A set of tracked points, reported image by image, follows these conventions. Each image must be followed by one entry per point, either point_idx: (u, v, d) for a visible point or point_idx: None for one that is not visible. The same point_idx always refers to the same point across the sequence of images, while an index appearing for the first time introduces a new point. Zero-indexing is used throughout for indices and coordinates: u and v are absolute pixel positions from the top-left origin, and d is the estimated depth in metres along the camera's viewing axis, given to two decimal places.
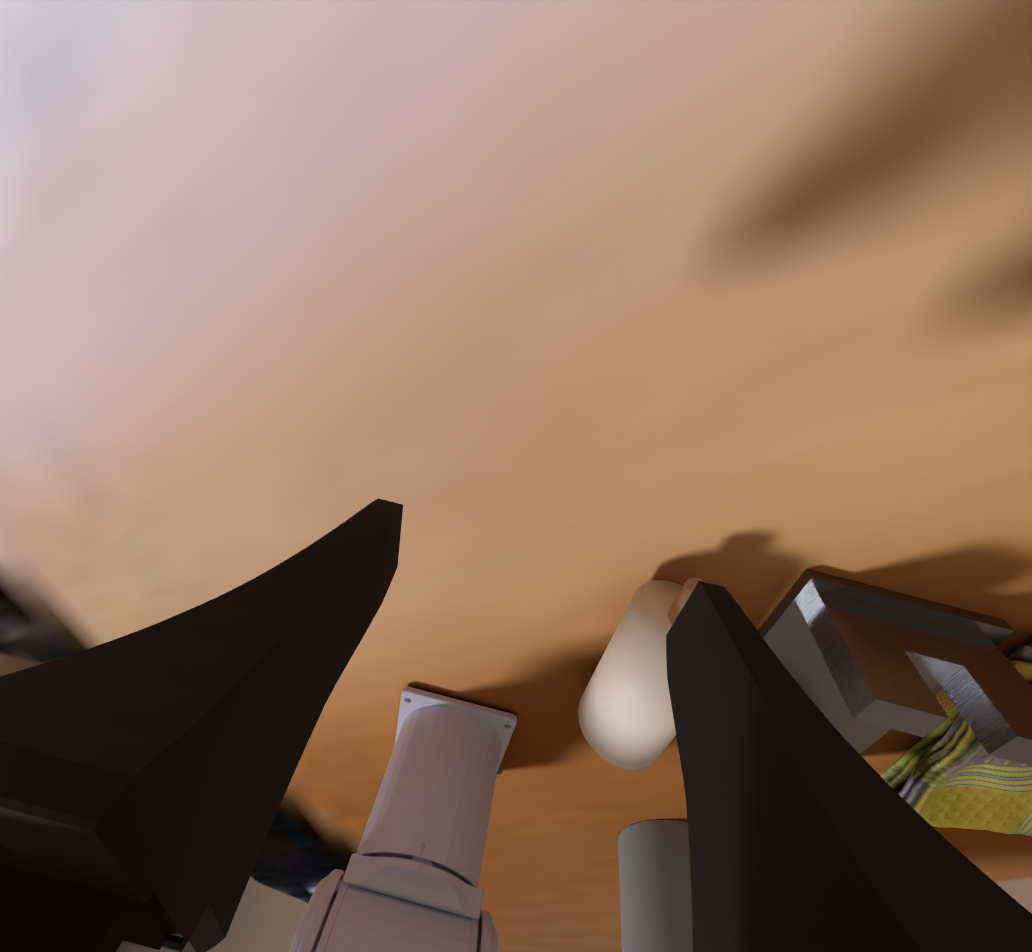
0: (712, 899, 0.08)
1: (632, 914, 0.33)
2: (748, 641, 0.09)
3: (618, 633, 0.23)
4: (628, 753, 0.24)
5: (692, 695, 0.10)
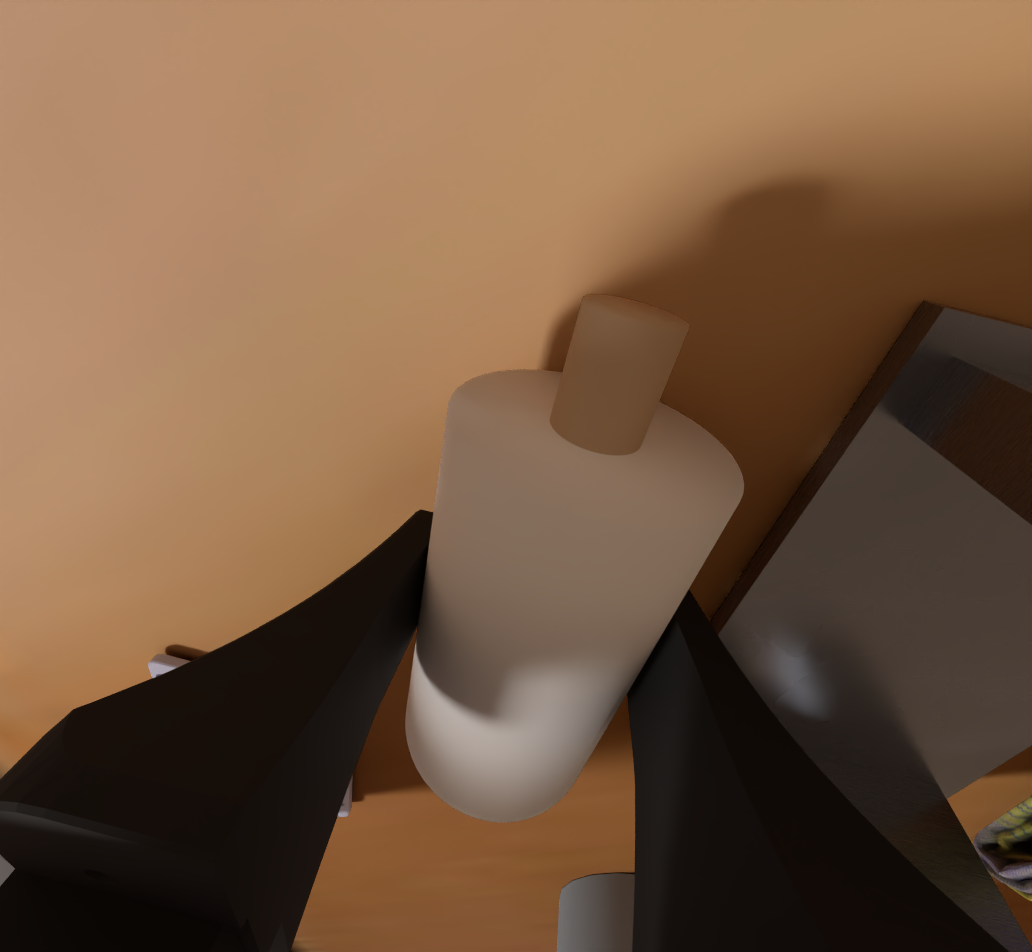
0: (650, 882, 0.08)
1: None
2: (695, 627, 0.09)
3: None
4: (479, 785, 0.10)
5: (644, 682, 0.10)
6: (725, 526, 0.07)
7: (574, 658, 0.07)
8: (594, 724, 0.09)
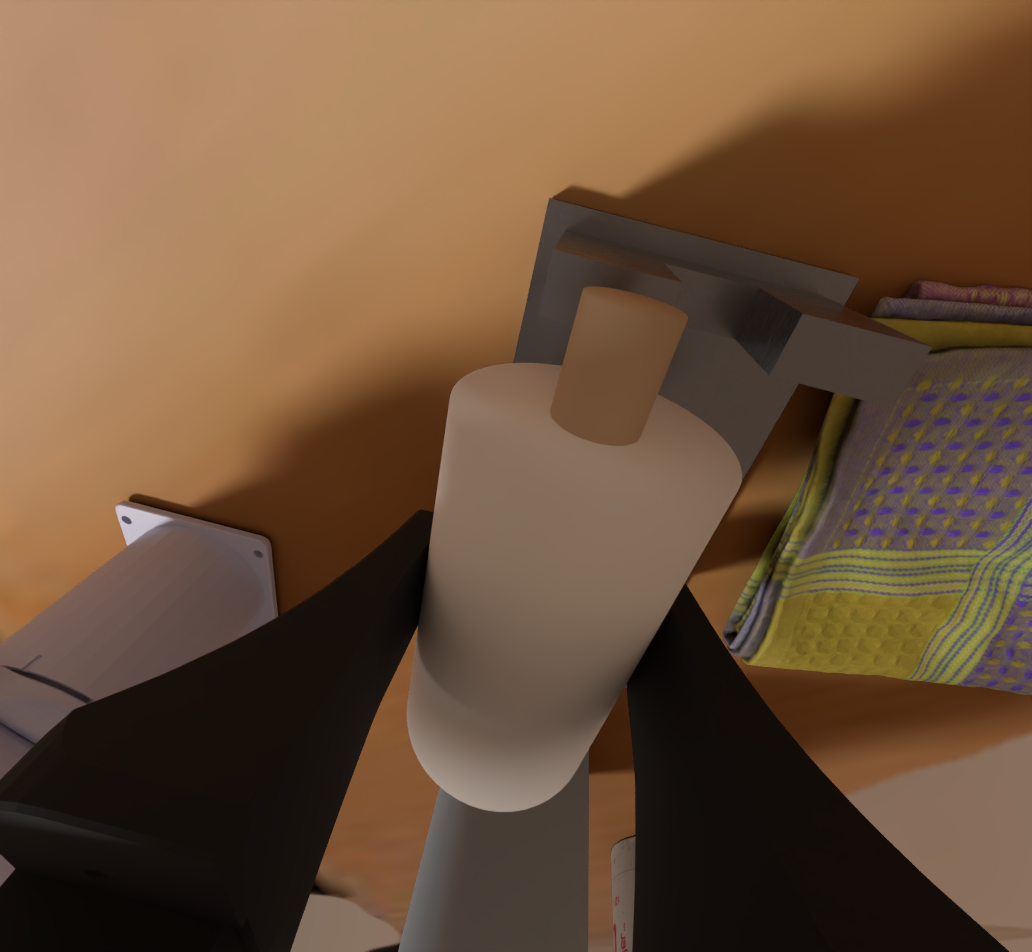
0: (650, 883, 0.08)
1: (437, 810, 0.26)
2: (695, 628, 0.09)
3: None
4: (481, 775, 0.10)
5: (645, 682, 0.10)
6: None
7: (576, 646, 0.07)
8: (594, 712, 0.09)
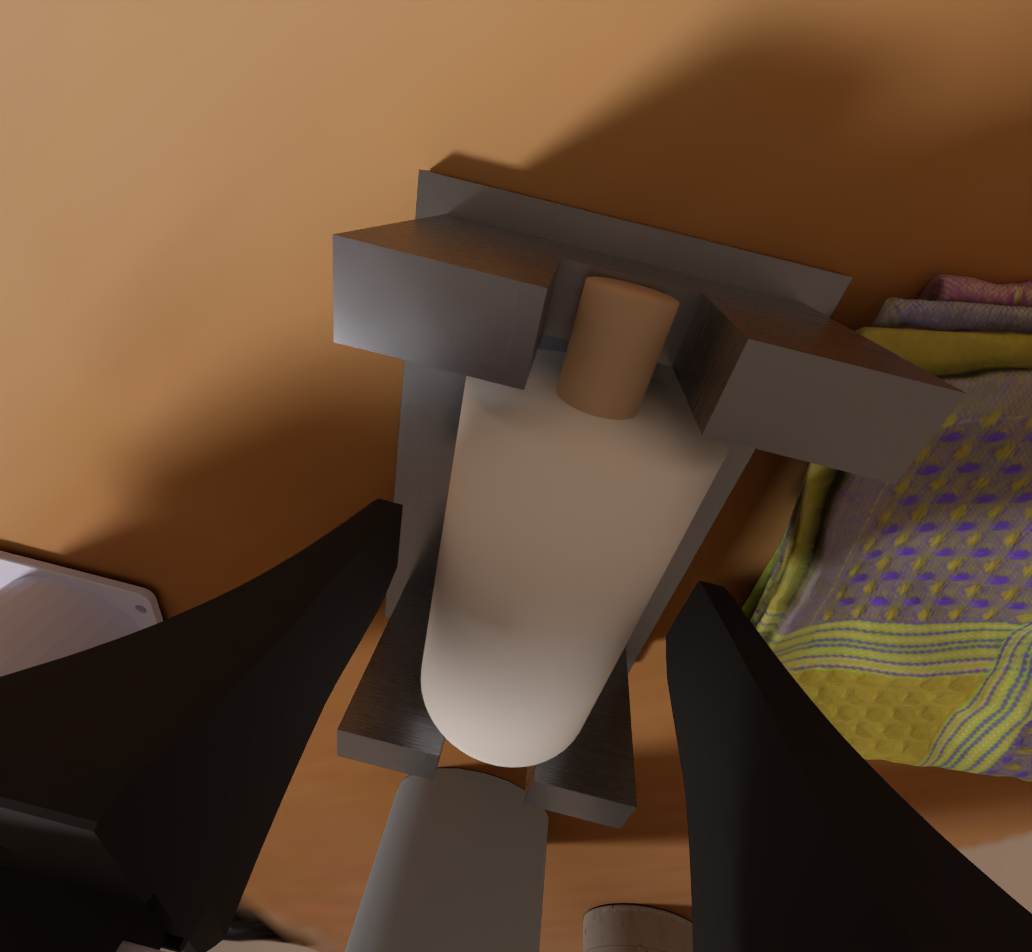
0: (711, 899, 0.08)
1: (362, 905, 0.22)
2: (748, 641, 0.09)
3: None
4: (495, 731, 0.11)
5: (692, 695, 0.10)
6: (713, 479, 0.08)
7: (584, 600, 0.08)
8: (599, 666, 0.10)
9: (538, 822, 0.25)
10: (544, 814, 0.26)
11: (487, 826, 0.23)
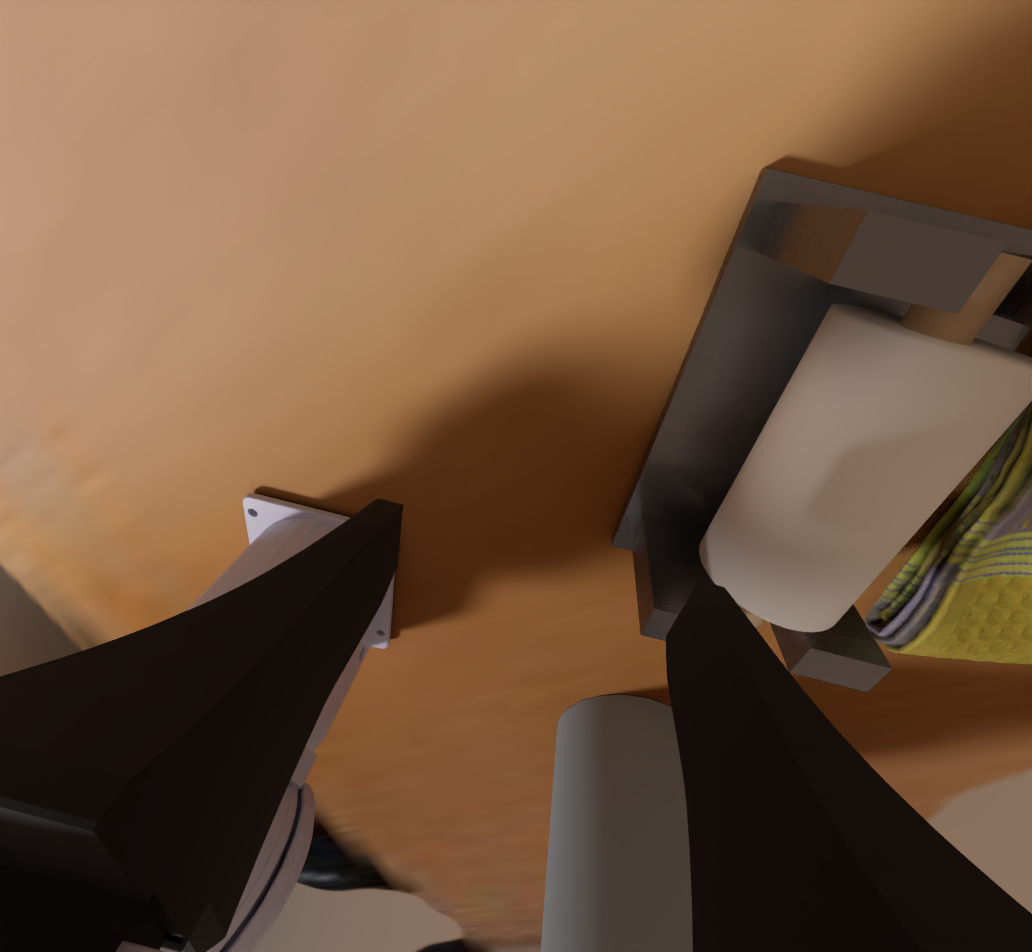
0: (711, 898, 0.08)
1: (560, 805, 0.25)
2: (748, 641, 0.09)
3: (801, 381, 0.13)
4: (811, 596, 0.14)
5: (692, 695, 0.10)
6: None
7: (941, 474, 0.12)
8: (909, 538, 0.13)
9: None
10: None
11: (662, 739, 0.26)
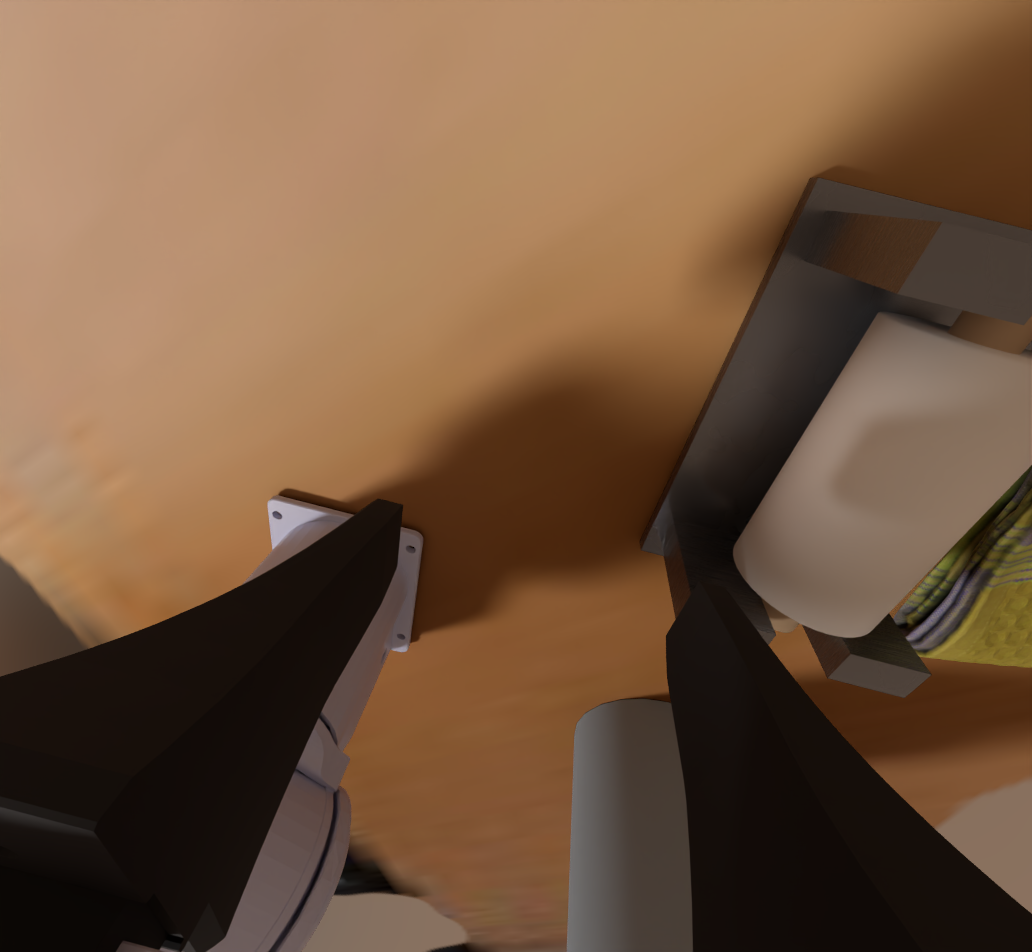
0: (712, 899, 0.08)
1: (583, 809, 0.25)
2: (748, 641, 0.09)
3: (843, 385, 0.14)
4: (843, 599, 0.14)
5: (692, 695, 0.10)
6: None
7: (983, 480, 0.12)
8: (949, 547, 0.13)
9: None
10: None
11: None
